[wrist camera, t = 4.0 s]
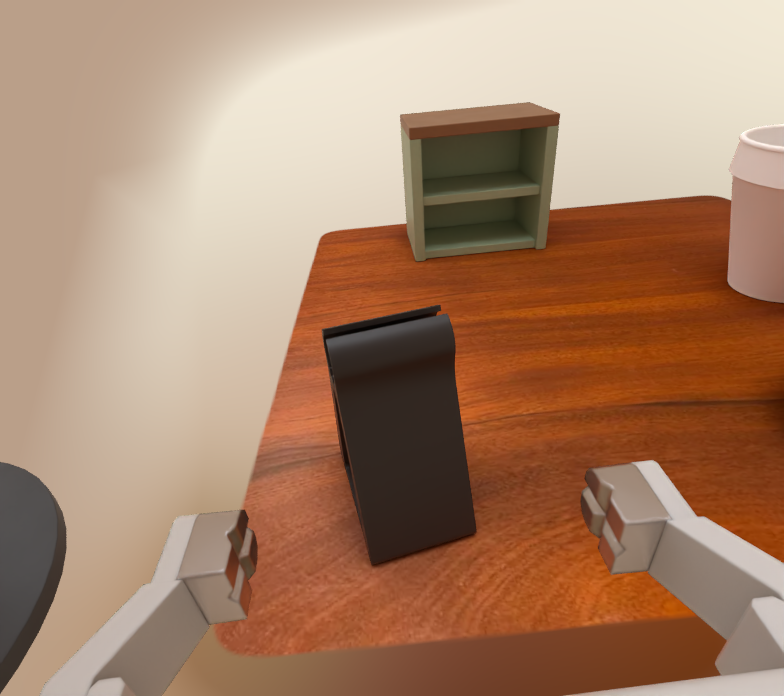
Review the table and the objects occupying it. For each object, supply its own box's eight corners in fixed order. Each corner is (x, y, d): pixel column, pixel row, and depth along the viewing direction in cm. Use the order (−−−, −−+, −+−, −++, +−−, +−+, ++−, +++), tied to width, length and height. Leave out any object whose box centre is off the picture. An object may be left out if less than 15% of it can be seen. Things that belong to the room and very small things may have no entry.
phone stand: (476, 536, 26) (483, 358, 20) (371, 568, 25) (340, 391, 18) (423, 429, 34) (416, 273, 27) (340, 450, 32) (310, 293, 26)
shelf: (415, 261, 58) (408, 127, 49) (407, 233, 66) (400, 114, 58) (545, 248, 58) (560, 113, 50) (520, 221, 66) (529, 102, 58)
